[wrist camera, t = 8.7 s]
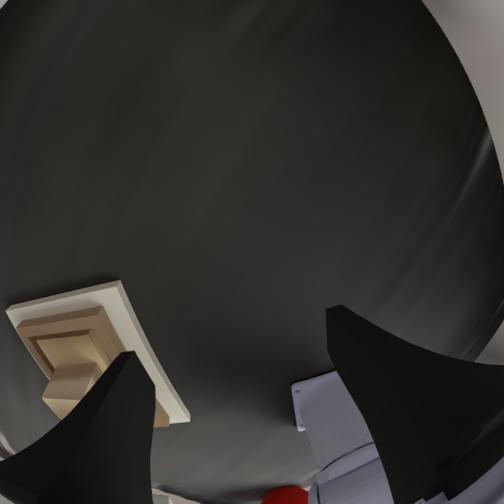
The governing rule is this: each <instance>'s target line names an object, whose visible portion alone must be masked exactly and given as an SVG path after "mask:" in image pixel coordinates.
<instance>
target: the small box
mask: <svg viewBox="0 0 504 504" xmlns="http://www.w3.org/2000/svg"><path fill="white" fill-rule="evenodd" d="M152 498H153V504H173V503H172V501H171V499H170V498H169V496H161V495H153V494H152Z"/></svg>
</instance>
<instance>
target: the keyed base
mask: <svg viewBox="0 0 504 504" xmlns="http://www.w3.org/2000/svg"><path fill="white" fill-rule="evenodd" d="M6 313H7V314H8V316H9V318H10V320H11V322H12V324H13V325H14V327H15V329H16V331H17V332H18V334H19V336H20V337H21V339H22V341H23V342H24V344H25V345H26V347H27V349H28V350H29V352H30V353H31V355H32V356H33V358H34V359H35V361H36V362H37V363H38V365H39V366H40V368H41V369H42V370H43V372H44V373H45V375H46V376H47V377H48V379H49V380H50V379H51V377H52V375H53V373H54V371H55V369H54V367H53V366H52V364H51V363H50V361H49V360H48V358H47V357H46V355H45V354H44V352H43V351H42V349H41V348H40V346H39V344H38V343H37V341H36V340H37V338H38V337H39V336H41V335H49V334H56V333H64V332H71V331H78V330H84V329H91V328H93V329H94V331H95V333H96V335H97V337H98V338H99V340H100V342H101V344H102V345H103V347H104V349H105V350H106V352H107V354H108V355H109V357H110V359H111V360H112V362H113V360H114V359H115V358H116V357H117V356H118V355H119V354H120V353H121V352H126V351H133V350H135V352H136V354H137V356H138V357H139V359H140V361H141V362H142V364H143V366H144V368H145V369H146V371H147V373H148V374H149V376H150V378H151V379H152V381H153V382H154V384H155V386H156V409H155V418H154V426H153V427H168V426H169V423H181V422H190V413H189V412H188V410H187V408H186V407H185V405H184V404H183V402H182V400H181V399H180V397H179V396H178V394H177V392H176V391H175V389H174V387H173V386H172V384H171V382H170V380H169V379H168V377H167V375H166V374H165V372H164V370H163V368H162V366H161V365H160V363H159V361H158V359H157V357H156V355H155V353H154V351H153V350H152V348H151V346H150V344H149V342H148V340H147V338H146V336H145V334H144V332H143V330H142V328H141V326H140V323H139V321H138V319H137V317H136V315H135V313H134V311H133V308H132V306H131V304H130V302H129V299H128V297H127V295H126V292H125V290H124V288H123V285H122V283H121V280H117V281H113V282H109V283H104V284H100V285H96V286H92V287H87V288H83V289H79V290H75V291H70V292H66V293H62V294H57V295H53V296H49V297H45V298H40V299H36V300H32V301H28V302H23V303H19V304H15V305H11V306H10V307H9V308H8V309H7V310H6Z"/></svg>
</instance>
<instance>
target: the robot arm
mask: <svg viewBox="0 0 504 504" xmlns="http://www.w3.org/2000/svg"><path fill="white" fill-rule="evenodd" d="M326 327H327V350H328V352H329V355H330V357H331V360H332V362H333V365H334V367H335V369H336V371H334V372H331V373H328V374H324V375H321V376H318V377H315V378H312V379H308V380H305V381H301V382H298V383H295V384H293V385H292V386H291V390H292V397H293V403H294V410H295V416H296V423H297V429H298V431H303V430H306V432H307V435H308V438H309V440H310V443H311V446H312V449H313V452H314V455H315V458H316V461H317V464H318V467H319V470H320V472H319V473H317V474H315V477H316V480H317V483H314V484H313V485H312V487H311V489H310V492H309V494H308V504H504V365H489V364H482V363H475V362H469V361H464V360H460V359H456V358H452V357H448V356H444V355H441V354H438V353H435V352H432V351H429V350H427V349H424V348H421V347H419V346H416V345H414V344H411V343H409V342H407V341H405V340H403V339H401V338H399V337H397V336H395V335H393V334H391V333H389V332H387V331H385V330H383V329H381V328H380V327H378V326H376V325H374V324H373V323H371V322H369V321H367V320H366V319H364V318H362V317H361V316H359V315H357V314H356V313H354V312H353V311H351V310H349V309H348V308H346V307H344V306H343V305H338V306H335V307H331V308H328V309H326ZM155 409H156V386H155V384H154V382H153V381H152V379H151V378H150V376H149V374H148V373H147V371H146V369H145V368H144V366H143V364H142V362H141V361H140V359H139V357H138V356H137V354H136V352H135V350H133V351H126V352H121V353H120V354H119V355H118V356H117V357H116V358H115V359H114V360H113V362H112V363H111V364H110V365H109V367H108V368H107V369H106V370H105V371H104V373H103V374H102V375H101V376H100V378H99V379H98V380H97V381H96V383H95V384H94V385H93V386H92V388H91V389H90V390H89V391H88V392H87V393H86V395H85V396H84V397H83V398H82V399H81V400H80V401H79V403H78V404H77V405H76V406H75V407H74V408H73V409H72V410H71V412H70V413H69V414H68V415H67V416H66V417H65V418H63V419H62V420H61V421H60V422H59V423H58V424H57V425H56V426H55V427H54V428H52V429H51V430H50V431H49V432H48V433H46V434H45V435H44V436H43V437H41V438H40V439H39V440H37V441H36V442H34V443H33V444H32V445H30V446H29V447H27V448H25V449H24V450H22V451H20V452H19V453H17V454H15V455H13V456H11V457H9V458H6V459H4V460H3V461H0V494H1V495H2V496H4V497H5V498H7V499H8V500H10V501H12V502H13V503H15V504H153V498H152V489H151V476H150V453H151V443H152V435H153V426H154V418H155Z"/></svg>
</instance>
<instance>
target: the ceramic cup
mask: <svg viewBox="0 0 504 504" xmlns="http://www.w3.org/2000/svg"><path fill="white" fill-rule="evenodd" d="M308 494H309V492H307V491H305V490H303V489H301V488H300V487H297V486H291V487H284V488H280V489H276V490H273V491H271V492H269V493H268V494H267V496H266V497H265V498H264V500H263V501H262V503H261V504H308Z"/></svg>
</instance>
